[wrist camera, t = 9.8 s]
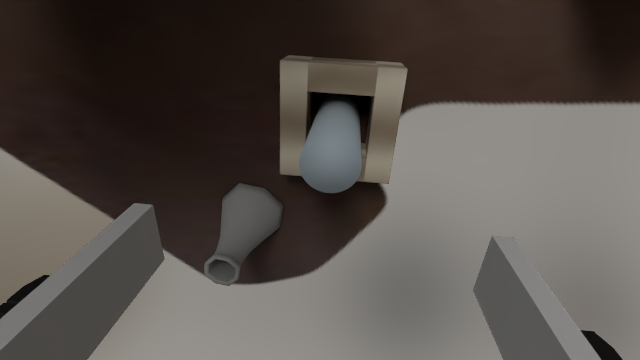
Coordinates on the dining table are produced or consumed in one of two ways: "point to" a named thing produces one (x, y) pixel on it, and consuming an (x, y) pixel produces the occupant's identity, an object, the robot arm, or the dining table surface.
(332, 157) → the peg
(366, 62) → the socket block
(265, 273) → the dining table surface
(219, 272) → the flask
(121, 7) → the dining table surface
